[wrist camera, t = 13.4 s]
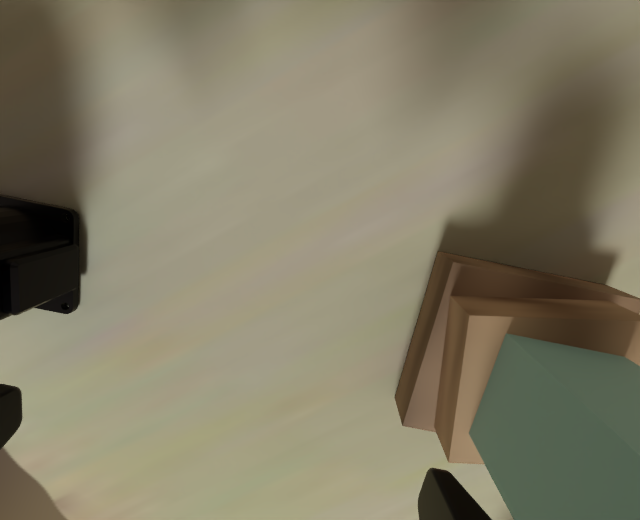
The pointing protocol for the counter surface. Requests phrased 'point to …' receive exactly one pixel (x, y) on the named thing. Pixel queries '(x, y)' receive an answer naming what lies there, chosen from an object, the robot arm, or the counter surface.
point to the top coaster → (487, 337)
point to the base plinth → (479, 281)
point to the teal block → (561, 431)
